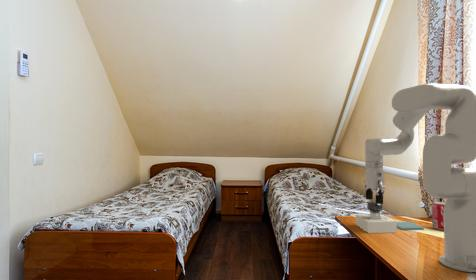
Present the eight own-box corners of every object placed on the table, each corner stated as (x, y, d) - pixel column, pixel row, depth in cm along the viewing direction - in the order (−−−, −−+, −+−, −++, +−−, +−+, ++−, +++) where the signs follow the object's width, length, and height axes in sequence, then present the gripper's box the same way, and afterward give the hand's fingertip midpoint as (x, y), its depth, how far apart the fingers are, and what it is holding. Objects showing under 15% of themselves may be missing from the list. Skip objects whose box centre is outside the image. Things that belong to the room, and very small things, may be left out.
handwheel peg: (385, 230, 135) (385, 204, 135) (371, 230, 135) (371, 204, 135) (378, 226, 141) (378, 201, 142) (365, 226, 141) (364, 201, 141)
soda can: (453, 229, 136) (453, 203, 136) (446, 232, 132) (446, 205, 132) (436, 225, 142) (435, 200, 142) (429, 228, 138) (429, 202, 138)
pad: (423, 229, 136) (423, 227, 136) (402, 230, 135) (402, 227, 135) (410, 223, 146) (410, 221, 146) (390, 224, 145) (390, 222, 145)
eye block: (396, 232, 132) (396, 221, 132) (367, 233, 131) (367, 221, 132) (381, 224, 145) (381, 214, 145) (355, 225, 144) (355, 214, 145)
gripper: (391, 166, 130) (392, 205, 130) (373, 163, 147) (373, 197, 148) (375, 166, 130) (375, 205, 130) (358, 163, 147) (358, 197, 147)
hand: (374, 201), depth 139 cm, fingers open, 9 cm apart
